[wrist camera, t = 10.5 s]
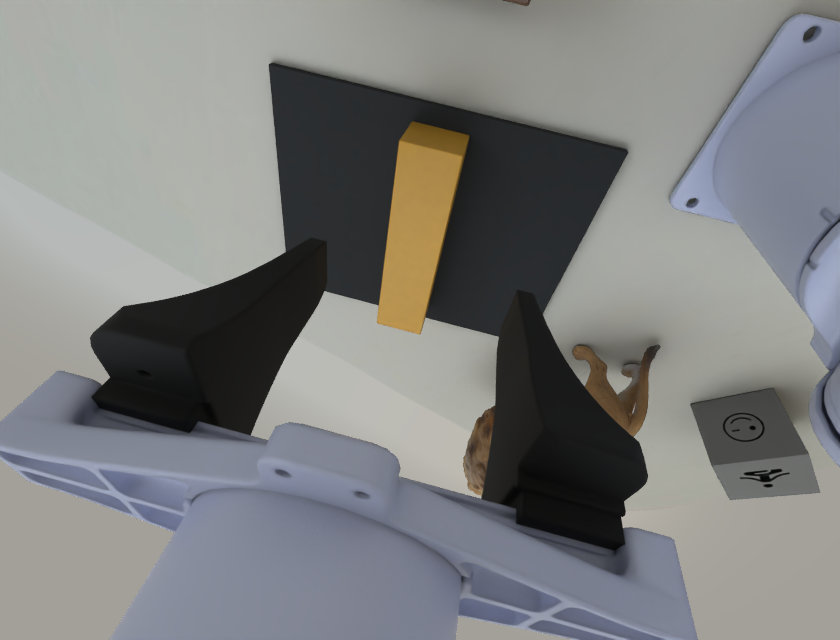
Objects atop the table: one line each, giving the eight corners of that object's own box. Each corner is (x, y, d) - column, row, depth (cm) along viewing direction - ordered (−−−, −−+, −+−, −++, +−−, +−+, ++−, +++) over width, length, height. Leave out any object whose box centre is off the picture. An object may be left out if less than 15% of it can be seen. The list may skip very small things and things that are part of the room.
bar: (428, 307, 28) (420, 334, 26) (387, 296, 28) (376, 323, 26) (470, 134, 20) (463, 155, 18) (412, 120, 20) (398, 140, 18)
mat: (627, 149, 19) (628, 152, 19) (526, 340, 29) (526, 344, 29) (272, 62, 20) (268, 63, 20) (290, 278, 30) (288, 281, 29)
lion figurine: (493, 413, 36) (485, 515, 29) (458, 379, 34) (441, 481, 27) (672, 361, 28) (714, 487, 21) (640, 311, 25) (677, 435, 19)
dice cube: (772, 388, 27) (808, 454, 24) (785, 427, 30) (820, 492, 26) (690, 404, 30) (711, 465, 27) (708, 439, 32) (729, 499, 29)
